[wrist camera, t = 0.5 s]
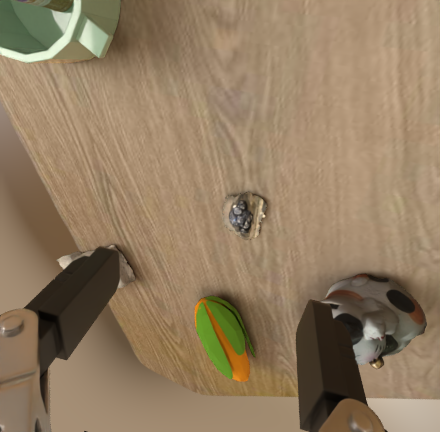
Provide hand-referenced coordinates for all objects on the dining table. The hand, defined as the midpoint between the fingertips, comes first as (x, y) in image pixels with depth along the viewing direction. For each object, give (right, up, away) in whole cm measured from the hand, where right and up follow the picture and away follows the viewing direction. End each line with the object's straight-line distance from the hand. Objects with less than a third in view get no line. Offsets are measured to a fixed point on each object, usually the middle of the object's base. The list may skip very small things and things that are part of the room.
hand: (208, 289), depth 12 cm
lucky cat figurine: (+21, -11, +33) cm, 41 cm away
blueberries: (+4, +3, +30) cm, 30 cm away
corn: (+3, -17, +41) cm, 44 cm away
